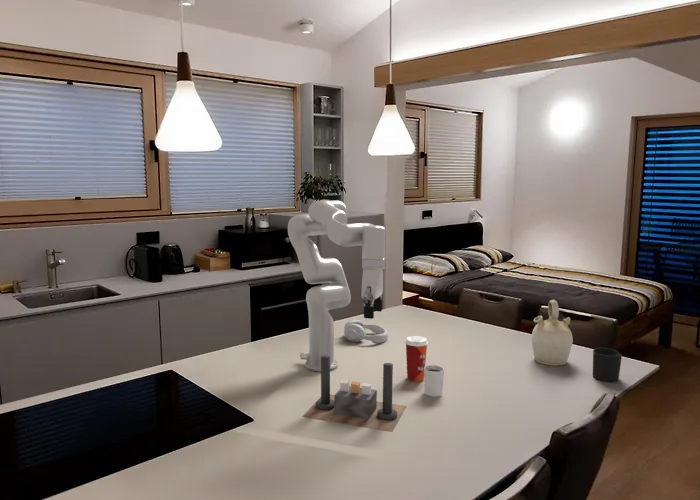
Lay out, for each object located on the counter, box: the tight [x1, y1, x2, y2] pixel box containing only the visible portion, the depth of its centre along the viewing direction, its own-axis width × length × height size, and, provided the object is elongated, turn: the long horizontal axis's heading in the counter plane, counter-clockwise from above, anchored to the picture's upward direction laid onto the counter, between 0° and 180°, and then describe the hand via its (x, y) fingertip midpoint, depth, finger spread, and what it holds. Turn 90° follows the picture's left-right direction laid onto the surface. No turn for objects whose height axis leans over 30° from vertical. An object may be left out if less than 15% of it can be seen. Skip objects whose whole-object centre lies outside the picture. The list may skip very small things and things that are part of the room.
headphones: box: [343, 319, 389, 345], centre depth 240 cm, size 18×8×20 cm
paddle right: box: [361, 382, 372, 395], centre depth 161 cm, size 2×1×3 cm, turn 71°
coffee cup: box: [404, 335, 429, 383], centre depth 193 cm, size 8×8×15 cm
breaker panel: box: [302, 385, 408, 433], centre depth 163 cm, size 28×18×8 cm, turn 71°
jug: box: [531, 299, 574, 367], centre depth 212 cm, size 15×16×25 cm
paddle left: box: [339, 379, 350, 392], centre depth 163 cm, size 2×1×3 cm, turn 71°
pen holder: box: [592, 347, 623, 383], centre depth 195 cm, size 9×9×10 cm
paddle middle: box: [350, 381, 361, 394], centre depth 162 cm, size 2×1×3 cm, turn 71°
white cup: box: [423, 364, 445, 398], centre depth 177 cm, size 7×7×10 cm
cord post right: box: [377, 362, 397, 421], centre depth 159 cm, size 6×6×16 cm
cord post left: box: [315, 355, 334, 411], centre depth 166 cm, size 6×6×16 cm
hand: (373, 314), depth 176 cm, fingers open, 9 cm apart
